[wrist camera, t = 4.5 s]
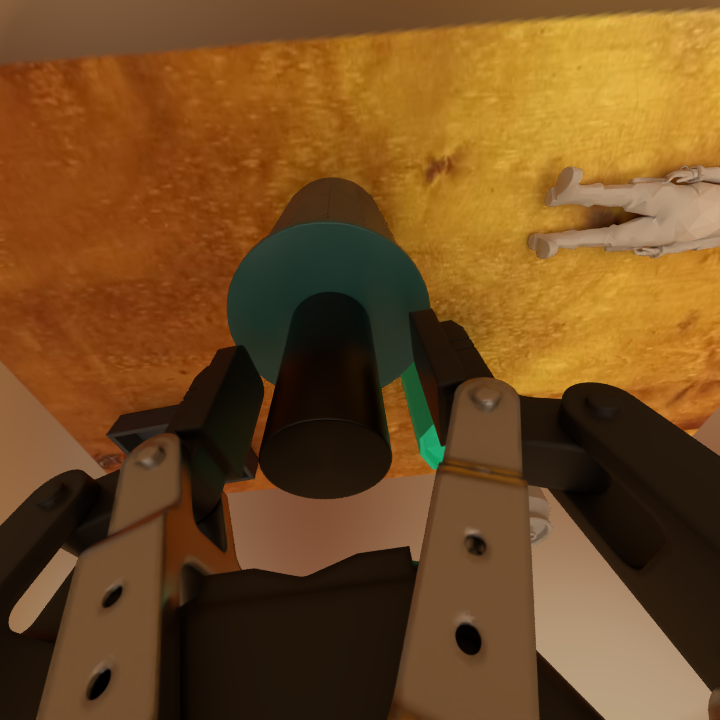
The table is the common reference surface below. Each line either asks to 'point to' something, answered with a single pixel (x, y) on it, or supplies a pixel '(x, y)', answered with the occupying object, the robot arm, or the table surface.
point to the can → (538, 515)
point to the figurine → (655, 199)
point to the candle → (421, 418)
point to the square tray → (155, 422)
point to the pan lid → (326, 349)
